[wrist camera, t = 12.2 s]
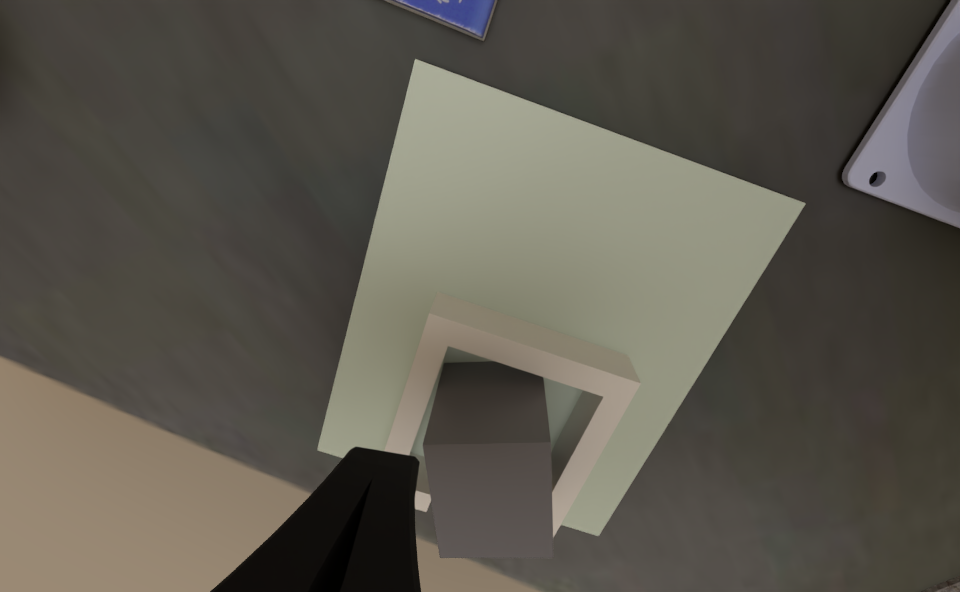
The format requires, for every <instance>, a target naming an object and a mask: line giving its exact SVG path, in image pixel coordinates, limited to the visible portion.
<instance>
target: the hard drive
mask: <svg viewBox="0 0 960 592" xmlns="http://www.w3.org/2000/svg"><path fill="white" fill-rule="evenodd" d="M384 1H386V2H389V3H391V4H394V5H396V6H399V7H401V8H403V9H406V10H408V11H411V12H413V13H416V14H418V15H421V16H423V17H425V18H428V19H430V20H433V21H435V22H438V23H440V24H443V25H445V26H447V27H450V28H452V29H455V30H457V31H460V32H462V33H464V34H467V35H469V36H472V37H474V38H477V39H479V40H481V41H484V40H485V37H486V34H487V31H488V28H489V25H490V22H491V19H492V16H493V12H494V9H495V6H496V3H497V0H384Z"/></svg>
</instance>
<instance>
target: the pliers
mask: <svg viewBox="0 0 960 592" xmlns="http://www.w3.org/2000/svg"><path fill="white" fill-rule="evenodd" d="M922 592H960V576H959V577H956V578H953V579H951V580H948V581H946V582H943V583H940V584H938V585H935V586H933V587H931V588H929V589H926V590H924V591H922Z"/></svg>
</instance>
